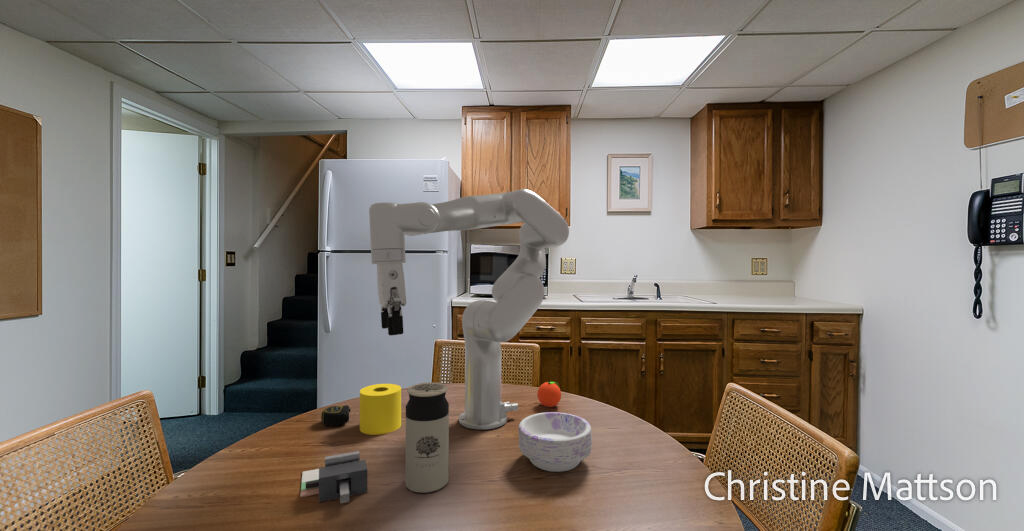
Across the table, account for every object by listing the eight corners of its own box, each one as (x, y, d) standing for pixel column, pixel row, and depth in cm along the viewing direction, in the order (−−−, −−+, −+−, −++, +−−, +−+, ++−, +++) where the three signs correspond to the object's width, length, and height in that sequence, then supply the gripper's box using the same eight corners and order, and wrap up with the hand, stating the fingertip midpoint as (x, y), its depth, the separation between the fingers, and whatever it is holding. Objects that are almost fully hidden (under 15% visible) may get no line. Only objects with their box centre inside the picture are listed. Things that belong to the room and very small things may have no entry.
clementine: (550, 399, 127) (551, 376, 127) (568, 405, 122) (568, 381, 122) (532, 406, 122) (532, 381, 122) (550, 412, 116) (550, 386, 116)
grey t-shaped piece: (359, 476, 81) (359, 450, 81) (363, 504, 71) (363, 475, 71) (305, 487, 77) (305, 459, 77) (303, 518, 67) (303, 487, 67)
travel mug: (412, 471, 83) (412, 381, 83) (451, 472, 83) (452, 382, 83) (400, 493, 75) (400, 394, 75) (444, 494, 75) (444, 394, 75)
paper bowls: (507, 471, 84) (507, 432, 83) (532, 441, 98) (532, 407, 98) (583, 487, 78) (583, 444, 78) (597, 452, 92) (597, 416, 92)
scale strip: (321, 469, 84) (321, 468, 84) (321, 493, 75) (321, 492, 75) (302, 472, 83) (302, 471, 83) (300, 497, 74) (300, 496, 74)
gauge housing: (365, 481, 79) (365, 459, 79) (367, 492, 76) (367, 469, 76) (318, 490, 76) (319, 467, 76) (318, 502, 72) (318, 478, 72)
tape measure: (349, 426, 106) (349, 412, 106) (319, 429, 104) (319, 414, 104) (350, 417, 113) (350, 403, 113) (322, 420, 110) (323, 405, 110)
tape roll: (406, 428, 105) (406, 391, 105) (366, 438, 99) (366, 398, 99) (393, 416, 113) (393, 381, 113) (355, 424, 107) (355, 387, 107)
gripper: (413, 256, 90) (416, 335, 90) (398, 256, 105) (401, 324, 106) (376, 257, 87) (380, 339, 87) (367, 257, 102) (370, 327, 103)
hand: (392, 331), depth 97 cm, fingers open, 9 cm apart
